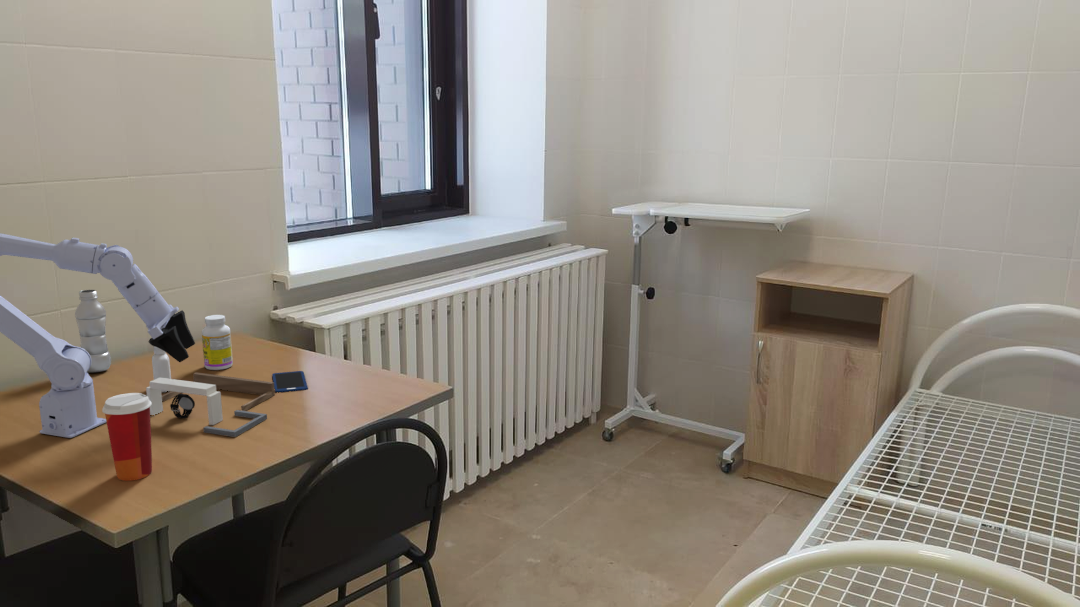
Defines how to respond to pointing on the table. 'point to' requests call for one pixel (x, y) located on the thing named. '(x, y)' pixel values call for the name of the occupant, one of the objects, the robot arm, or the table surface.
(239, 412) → the frame
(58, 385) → the robot arm
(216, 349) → the supplement bottle
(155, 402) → the clamp arch
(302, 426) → the table surface
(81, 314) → the plastic bottle
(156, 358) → the eye dropper bottle
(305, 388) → the cell phone
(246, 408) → the track
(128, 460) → the paper cup
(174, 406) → the smartwatch
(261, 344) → the table surface
